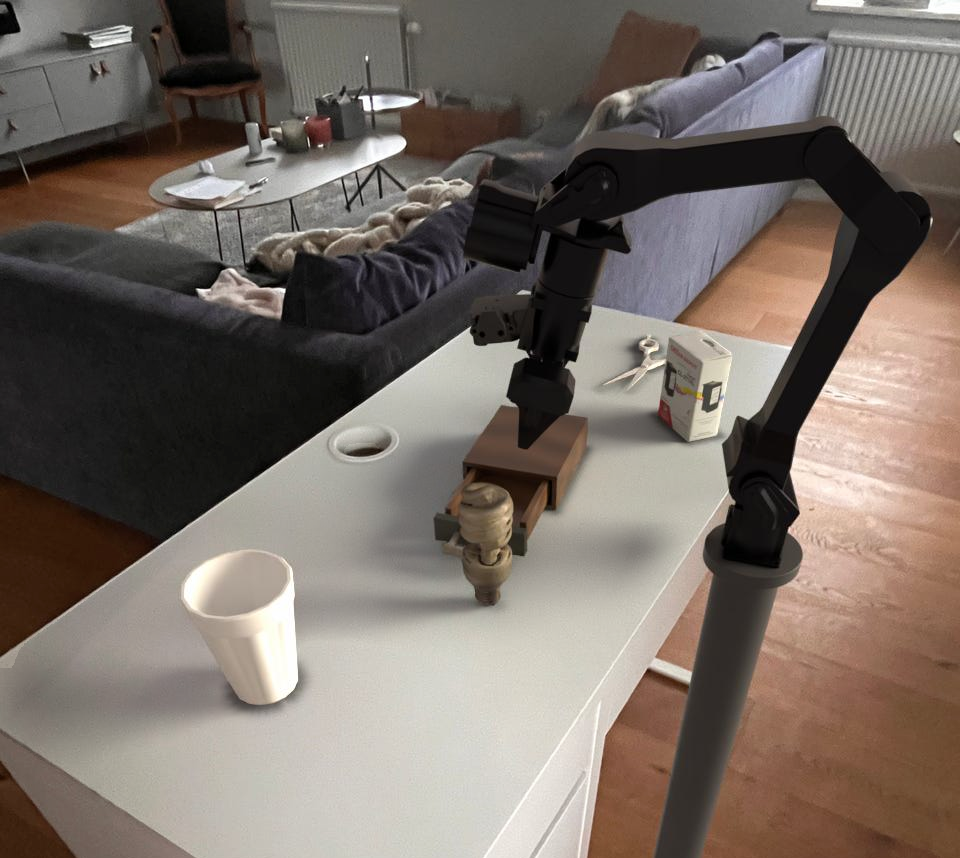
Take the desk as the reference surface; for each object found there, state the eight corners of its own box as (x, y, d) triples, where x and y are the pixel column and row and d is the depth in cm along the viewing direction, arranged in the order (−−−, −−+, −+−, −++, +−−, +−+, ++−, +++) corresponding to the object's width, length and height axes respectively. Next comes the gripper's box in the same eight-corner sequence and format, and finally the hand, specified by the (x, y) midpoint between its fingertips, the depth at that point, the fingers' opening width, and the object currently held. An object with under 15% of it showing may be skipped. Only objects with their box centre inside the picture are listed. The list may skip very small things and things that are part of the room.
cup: (207, 667, 83) (170, 566, 74) (303, 638, 86) (278, 537, 77) (226, 736, 77) (188, 634, 68) (329, 702, 79) (306, 599, 70)
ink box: (656, 415, 118) (666, 334, 110) (685, 408, 119) (698, 328, 111) (687, 443, 112) (701, 360, 104) (718, 435, 114) (734, 353, 105)
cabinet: (555, 510, 102) (557, 476, 98) (463, 494, 105) (462, 461, 102) (586, 449, 112) (588, 417, 109) (501, 436, 115) (501, 404, 112)
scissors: (706, 348, 132) (645, 396, 120) (705, 353, 132) (644, 401, 121) (647, 333, 137) (583, 377, 125) (647, 338, 137) (583, 382, 126)
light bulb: (521, 614, 88) (522, 495, 78) (474, 627, 87) (468, 509, 76) (501, 583, 92) (499, 466, 81) (455, 596, 90) (448, 478, 80)
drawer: (514, 577, 91) (514, 554, 89) (422, 559, 94) (420, 536, 92) (558, 490, 103) (559, 468, 101) (476, 476, 106) (475, 455, 104)
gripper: (497, 230, 85) (467, 369, 96) (471, 300, 72) (440, 452, 82) (600, 259, 86) (559, 393, 96) (594, 333, 72) (547, 480, 83)
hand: (526, 426), depth 90 cm, fingers open, 9 cm apart
